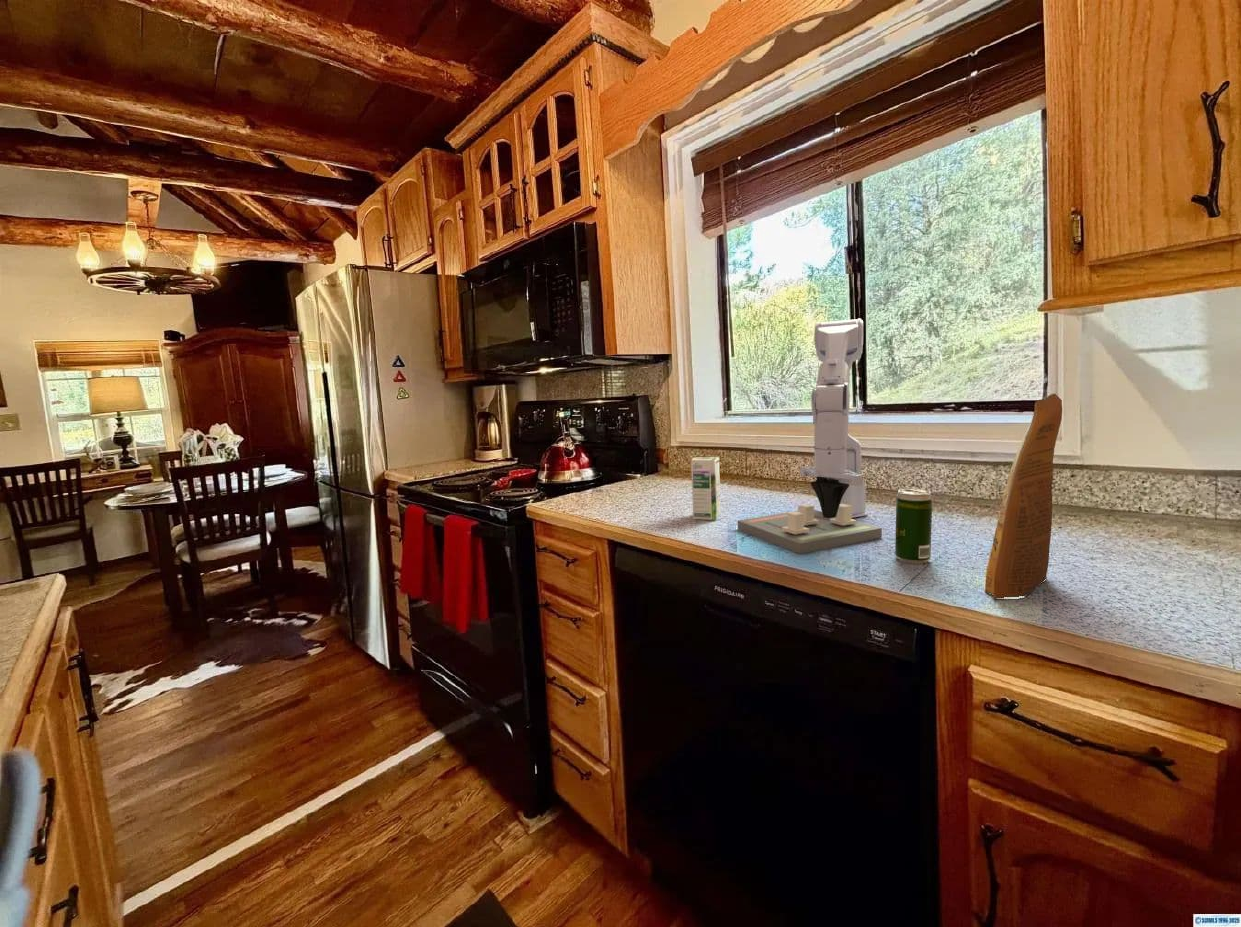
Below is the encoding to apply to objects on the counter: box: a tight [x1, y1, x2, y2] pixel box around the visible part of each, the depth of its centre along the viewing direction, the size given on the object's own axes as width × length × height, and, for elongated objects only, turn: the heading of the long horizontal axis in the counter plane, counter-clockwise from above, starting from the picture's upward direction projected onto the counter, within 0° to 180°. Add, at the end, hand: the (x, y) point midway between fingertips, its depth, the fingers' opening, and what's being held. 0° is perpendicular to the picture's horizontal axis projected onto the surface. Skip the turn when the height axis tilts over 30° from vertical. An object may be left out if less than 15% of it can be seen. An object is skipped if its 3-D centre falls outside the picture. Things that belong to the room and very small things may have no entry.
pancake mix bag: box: [984, 393, 1063, 599], centre depth 77 cm, size 7×19×28 cm, turn 128°
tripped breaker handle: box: [797, 503, 819, 525], centre depth 111 cm, size 4×4×4 cm
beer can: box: [894, 488, 933, 565], centre depth 92 cm, size 5×5×12 cm
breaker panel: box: [737, 509, 883, 555], centre depth 112 cm, size 20×20×2 cm
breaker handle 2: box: [830, 504, 858, 526], centre depth 110 cm, size 4×4×4 cm
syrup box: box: [690, 456, 721, 521], centre depth 128 cm, size 6×6×14 cm
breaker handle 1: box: [782, 510, 809, 534], centre depth 105 cm, size 4×4×4 cm
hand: (829, 517), depth 105 cm, fingers closed
